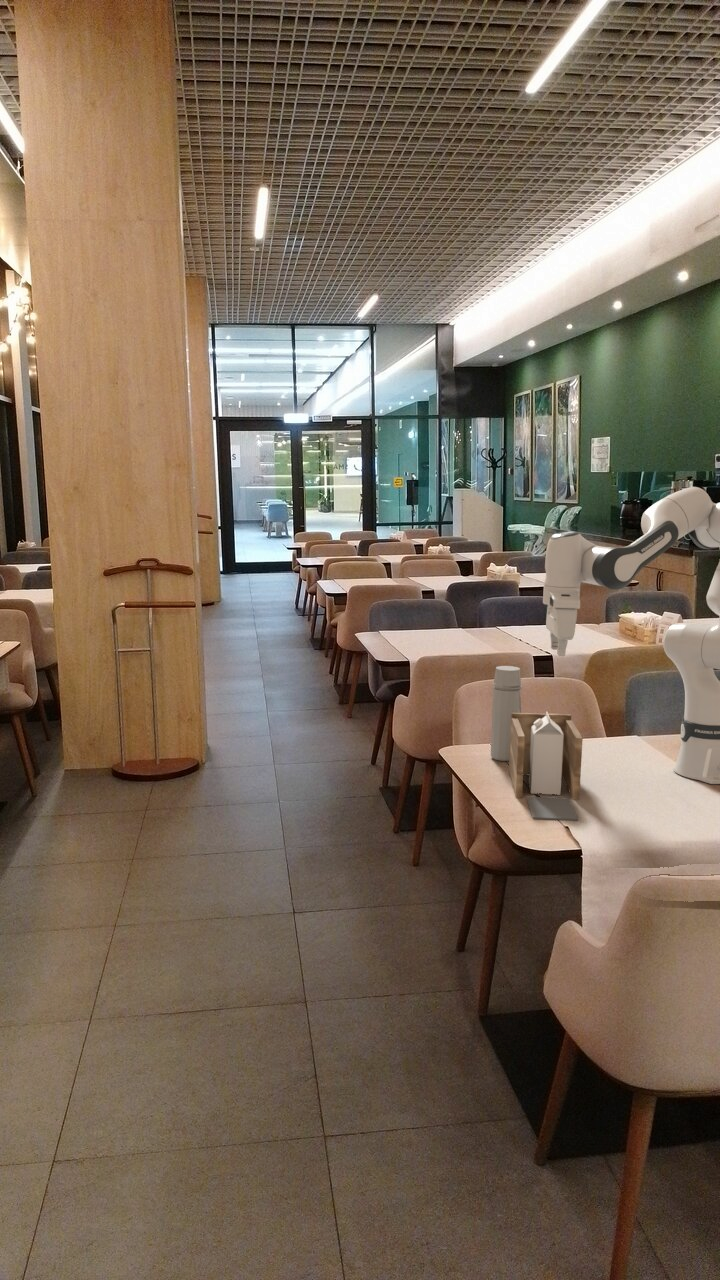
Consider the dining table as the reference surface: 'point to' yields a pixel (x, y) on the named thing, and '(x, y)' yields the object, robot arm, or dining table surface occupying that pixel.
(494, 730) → the water bottle
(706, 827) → the dining table surface
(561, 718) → the shelf bay
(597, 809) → the dining table surface
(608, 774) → the dining table surface
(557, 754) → the milk carton
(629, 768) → the dining table surface
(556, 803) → the mat
